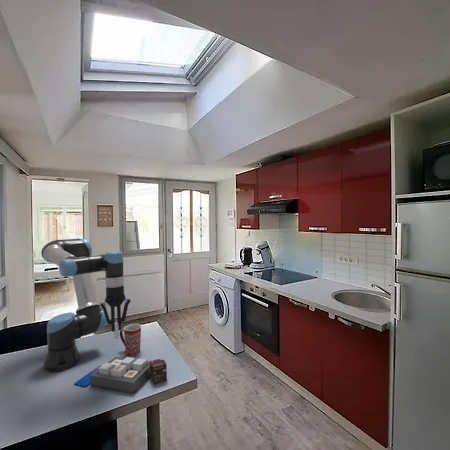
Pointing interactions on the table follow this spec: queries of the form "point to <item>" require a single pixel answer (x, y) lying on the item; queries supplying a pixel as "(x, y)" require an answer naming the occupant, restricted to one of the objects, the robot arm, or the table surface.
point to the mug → (131, 338)
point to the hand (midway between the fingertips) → (116, 337)
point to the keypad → (120, 380)
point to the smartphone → (85, 379)
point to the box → (158, 371)
